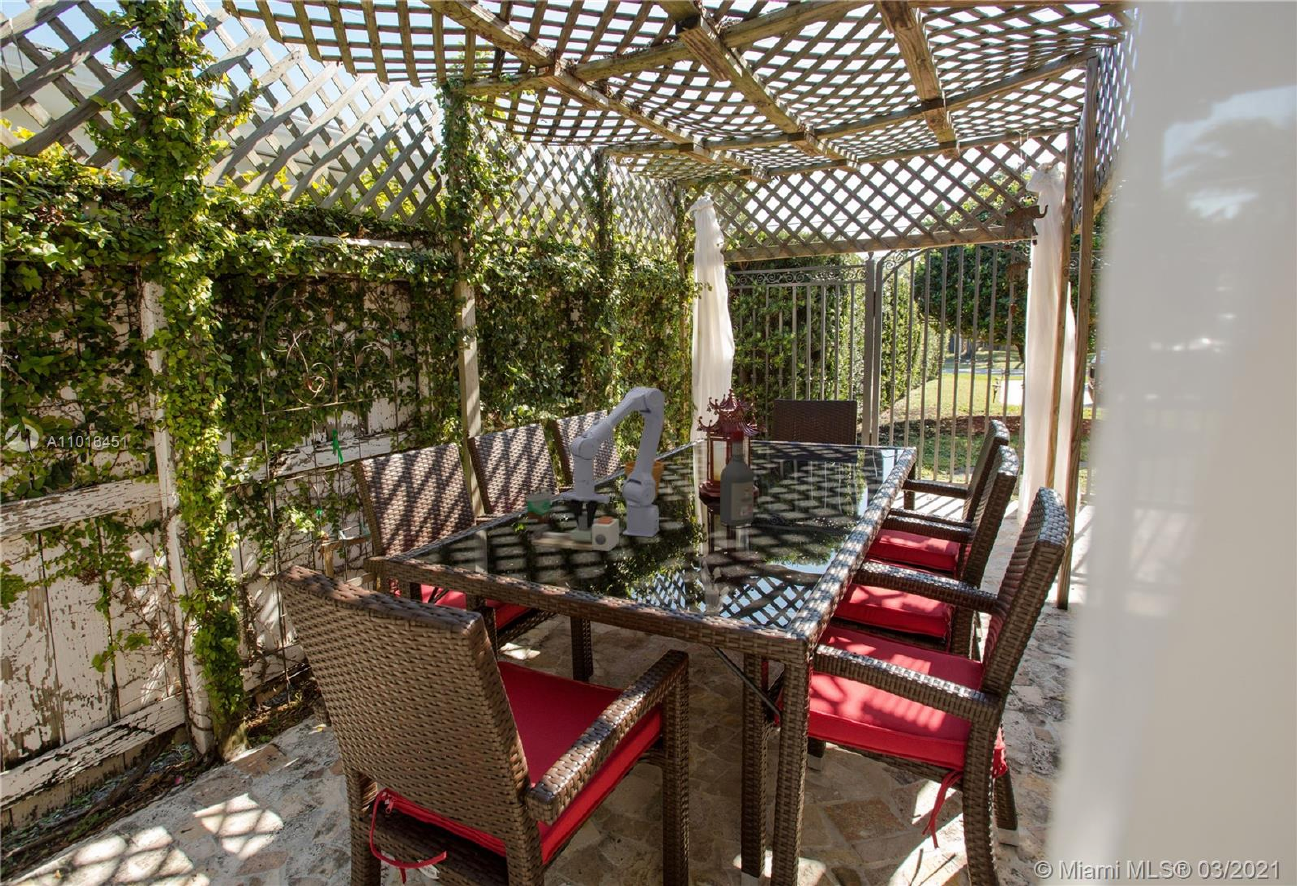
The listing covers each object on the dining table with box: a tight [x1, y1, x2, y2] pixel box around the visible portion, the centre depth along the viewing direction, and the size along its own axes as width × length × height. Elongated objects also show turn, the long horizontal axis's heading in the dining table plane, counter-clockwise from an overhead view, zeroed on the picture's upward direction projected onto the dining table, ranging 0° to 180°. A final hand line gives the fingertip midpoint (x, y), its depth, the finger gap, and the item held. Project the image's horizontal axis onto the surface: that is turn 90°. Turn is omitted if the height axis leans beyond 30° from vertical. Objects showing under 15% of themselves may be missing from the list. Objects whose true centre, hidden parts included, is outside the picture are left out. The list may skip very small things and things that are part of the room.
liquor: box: [719, 429, 755, 526], centre depth 209 cm, size 9×9×30 cm
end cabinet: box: [592, 518, 620, 552], centre depth 189 cm, size 5×8×7 cm, turn 163°
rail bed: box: [530, 523, 593, 551], centre depth 193 cm, size 19×10×4 cm, turn 73°
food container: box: [525, 486, 553, 524], centre depth 216 cm, size 12×6×10 cm, turn 168°
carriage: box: [570, 513, 592, 542], centre depth 191 cm, size 6×7×7 cm
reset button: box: [598, 515, 613, 524], centre depth 189 cm, size 3×3×2 cm
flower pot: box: [624, 460, 665, 501], centre depth 244 cm, size 14×14×13 cm
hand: (585, 525), depth 191 cm, fingers open, 2 cm apart
